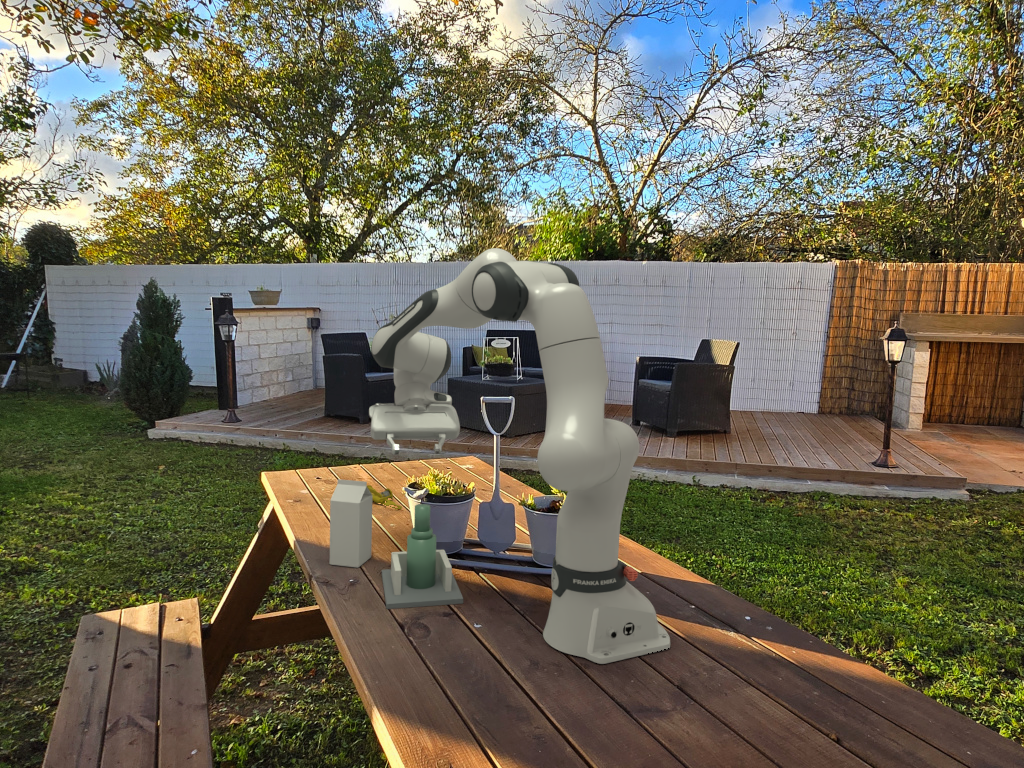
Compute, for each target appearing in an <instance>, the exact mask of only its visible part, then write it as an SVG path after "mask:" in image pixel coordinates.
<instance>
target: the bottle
mask: <svg viewBox="0 0 1024 768" xmlns="http://www.w3.org/2000/svg"><path fill="white" fill-rule="evenodd" d="M433 530H434V529H433V528H432V527H431V505H430V504H426V503H419V504H416V505H414V527H412V528H411V529H410V531H411V533H410V534H408V535H407V538H406V542H407V544H406V552H407V576H406V585H407V586H408V587H410V588H413V589H427V588H430V587H433V586H434V585H435V573H436V550H437V535H436V534H434V533H433V532H434V531H433Z"/></svg>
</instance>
